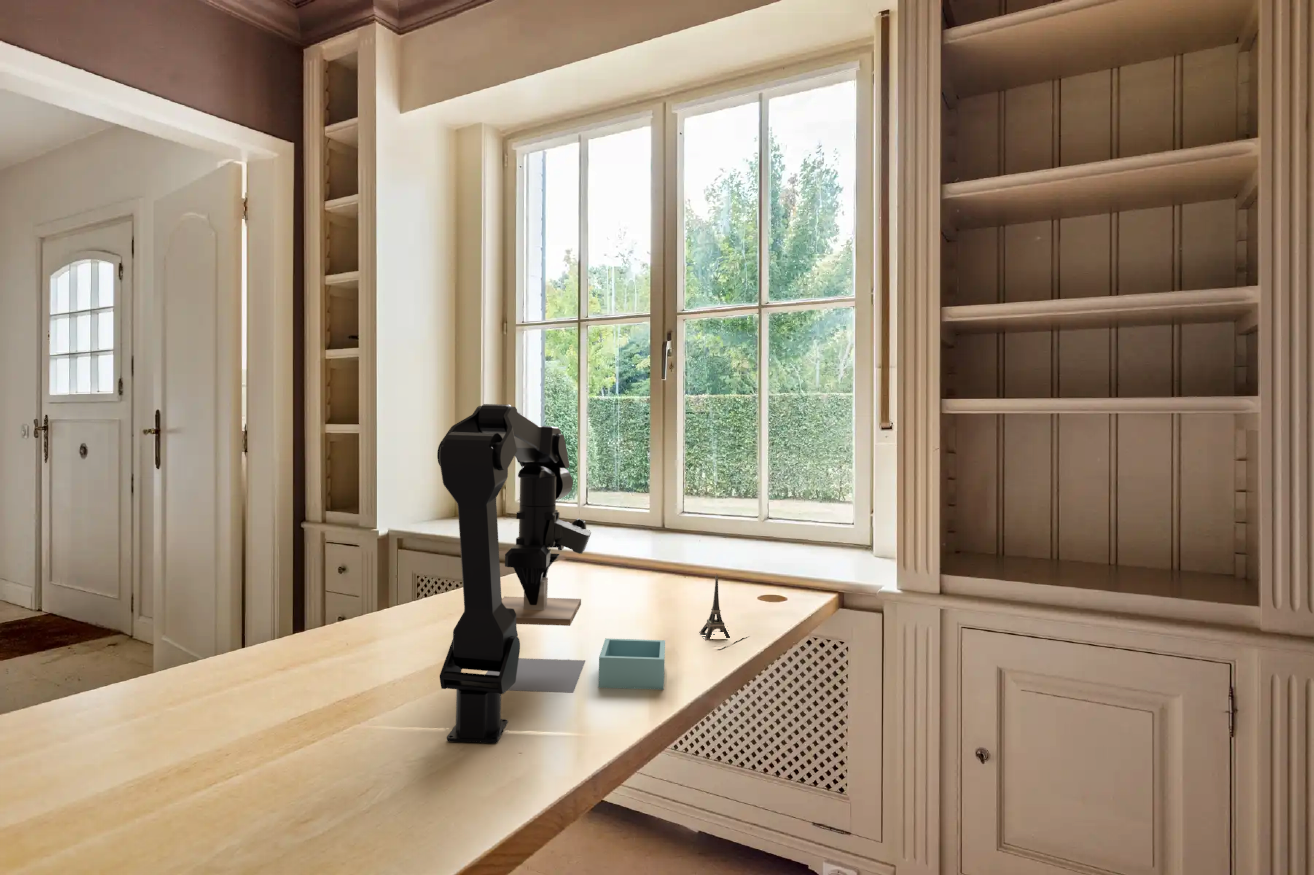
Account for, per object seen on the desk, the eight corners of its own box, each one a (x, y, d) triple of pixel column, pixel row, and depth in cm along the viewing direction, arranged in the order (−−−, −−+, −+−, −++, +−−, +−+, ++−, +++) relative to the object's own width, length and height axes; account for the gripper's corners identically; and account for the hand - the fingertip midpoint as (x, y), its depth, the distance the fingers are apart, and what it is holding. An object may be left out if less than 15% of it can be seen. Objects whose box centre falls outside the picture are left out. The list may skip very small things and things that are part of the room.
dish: (663, 692, 113) (664, 659, 113) (598, 689, 113) (599, 657, 113) (664, 670, 123) (665, 640, 123) (604, 668, 123) (605, 638, 123)
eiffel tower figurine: (720, 654, 134) (722, 581, 134) (673, 643, 140) (675, 573, 140) (757, 635, 147) (759, 568, 146) (713, 626, 152) (715, 562, 152)
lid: (570, 625, 112) (570, 589, 111) (484, 623, 112) (485, 587, 112) (580, 604, 125) (581, 572, 124) (504, 602, 125) (505, 570, 125)
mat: (573, 695, 111) (573, 692, 111) (474, 691, 111) (474, 689, 111) (585, 662, 126) (585, 660, 126) (497, 659, 126) (497, 657, 126)
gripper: (580, 513, 108) (578, 619, 109) (594, 500, 127) (592, 590, 127) (505, 511, 109) (502, 616, 109) (529, 498, 127) (527, 588, 128)
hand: (535, 602), depth 118 cm, fingers closed on lid, 3 cm apart
